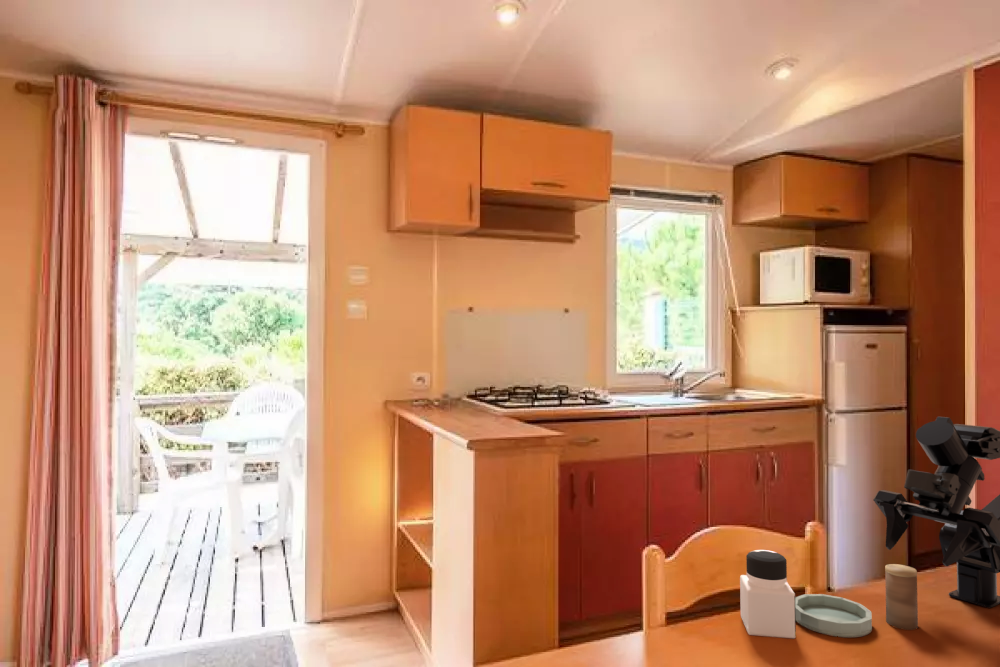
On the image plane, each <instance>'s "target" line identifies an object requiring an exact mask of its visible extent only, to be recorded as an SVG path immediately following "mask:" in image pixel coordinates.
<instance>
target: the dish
mask: <svg viewBox="0 0 1000 667" xmlns="http://www.w3.org/2000/svg"><path fill="white" fill-rule="evenodd" d="M795 615H796V623H798V624H799V625H800V626H802V627H804V628H805V629H808V630H810V631H813V632H817V633H818V634H822V635H828V636H832V637H837V636H838V638H860V637H865V636H867V635H869V634H870V633H871V632H872V631H873V627H872V625H873V624H872V622H873V620H872V618H873V617H872V611H871V610H870V609H868V608H867V607H866V606H864V605H863V604H861V603H859V602H857V601H853V600H851V599H849V598H844V597H842V596H836V595H830V594H823V593H818V594H817V593H809V594H808V593H806V594H801V595H798V596H795Z"/></svg>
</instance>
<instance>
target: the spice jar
mask: <svg viewBox="0 0 1000 667" xmlns="http://www.w3.org/2000/svg"><path fill="white" fill-rule="evenodd" d="M884 571H885V572H884V573H885V576H884V577H885V579H884V581H885V618H886V619H885V623H887V624H888V625H889V624H890V625H889V626H891V625H892V626H891V627H893V626H894V628H897V629H899V630H906V631H915V630H917V629H919V618H918V617H919V616H918V615H919V614H918V613H919V612H918V611H919V610H918V575H917V574H918V571H917V569H916V568H914V567H912V566H909V565H908V566H907V565H905V564H897V563H889V564H886V565H885V567H884ZM916 628H917V629H916ZM914 629H915V630H914Z"/></svg>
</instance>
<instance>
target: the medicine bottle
mask: <svg viewBox="0 0 1000 667" xmlns="http://www.w3.org/2000/svg"><path fill="white" fill-rule="evenodd" d="M745 560H746V574H741V575H740V577H739V587H740V588H739V589H740V590H739V591H740V598H739V600H740V601H739V602H740V618H741V620H742V623H743V625H744V627H745V629H746V632H747V635H749V636H759V637H768V638H769V637H771V638H783V639H795V638H796V637H797V631H796V630H797V628H796V627H797V626H796V624H797V622H796V615H795V597H796V593H795V592H794V590H793V589H792V587H791V586H790V584H789V582H788V575H787V574H788V572H787V565H788V564H787V563H788V561H787V560H788V559H786V557H785V556H784V555H782V554H780V553H778V552H776V551H772V550H768V549H767V550H766V549H755V550H752V551H750V552H747V554H746V559H745Z"/></svg>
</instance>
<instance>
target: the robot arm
mask: <svg viewBox="0 0 1000 667" xmlns="http://www.w3.org/2000/svg"><path fill="white" fill-rule="evenodd" d="M915 438H916V440H917V442H918V443H919V444H920V446H921V448H922V450H923V451H924V452H925V454H926V456H927V457H928V458H929V461H931V462H932V463H933V464H935V466H937V469H936V470H935V471H934V473H931V472H927V471H919V470H914V469H908V470H907V474H906V478H905V482H904V487H903V488H905V489H906V490H910V491H912V492H913V494H912V497H913V498H914V500H915V501H918V502H919V503H918V504H916V503H912V502H909V501H908V500H907V499H906V498H905V496H904V495H903V493H900V492H895V491H890V490H886V489H882V490H878V491H877V492H876V493H875V496H874V497H873V501H874V503H875V505H876V506H877V507H878V508H879V510H880V511H881V512H882V514H883V515H884V517H885V520H886V531H885V532H886V533H885V547H886V549H887V550H888V551H890V550H892V549H893V548H894V547H895V546H896V545H897V543H898V542H899V540H900V539H901V537H902V536H903V535H904V534H905V532H907V529H909V527H910V526H909V524H908V522H909V521H911V519H912V518H913V516H915V517H918V518H923V519H927V520H931V521H935V522H939V523H943V524H944V525H943V526H942V527H941V528H940V531H939V533H938V534H939V535H938V540H939V543H940V547H941V552H942V556H943V559H942V562H941V563H942V564H943V566H944V567H950V565H953V564H954V563H956V587H957V589H955V590H952V591H950V592H948V596H949V597H952V598H955V599H958V600H962V601H965V602H966V603H967V602H968V603H971V604H974V605H977V606H980V607H981V606H982V607H984V608H988V609H990V608H993V607H995V606H997V605H1000V595H998V586H997V585H998V580H997V574H998V573H1000V493H999V494H998V495H996V496H995V498H993V499H992V500H991V501H990V502H989V503H988V504H986V505H985V506H984V507H982V509H979V508H973V507H965V508H964V506H971V503H972V498H970V494H971V493H972V490H973V488H974V486H975V484H976V483H977V481H982V482H983V481H985V473H984V472H983V470H982V469H983V468H982V466H981V464H980V463H979V461H978V460H977V459H980V460H981V459H982V460H989V461H992V460H997V459H1000V430H999V429H997V428H995V427H992V426H982V425H971V424H963V423H961V424H959V423H954V421H952V419H951V417H947V416H946V417H945V416H937V417H936V419H935V420H934V421H933V420H932V421H929V422H927V423H925V424H923V425H922V426H921V427H919V428H917V429H916V432H915Z"/></svg>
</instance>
